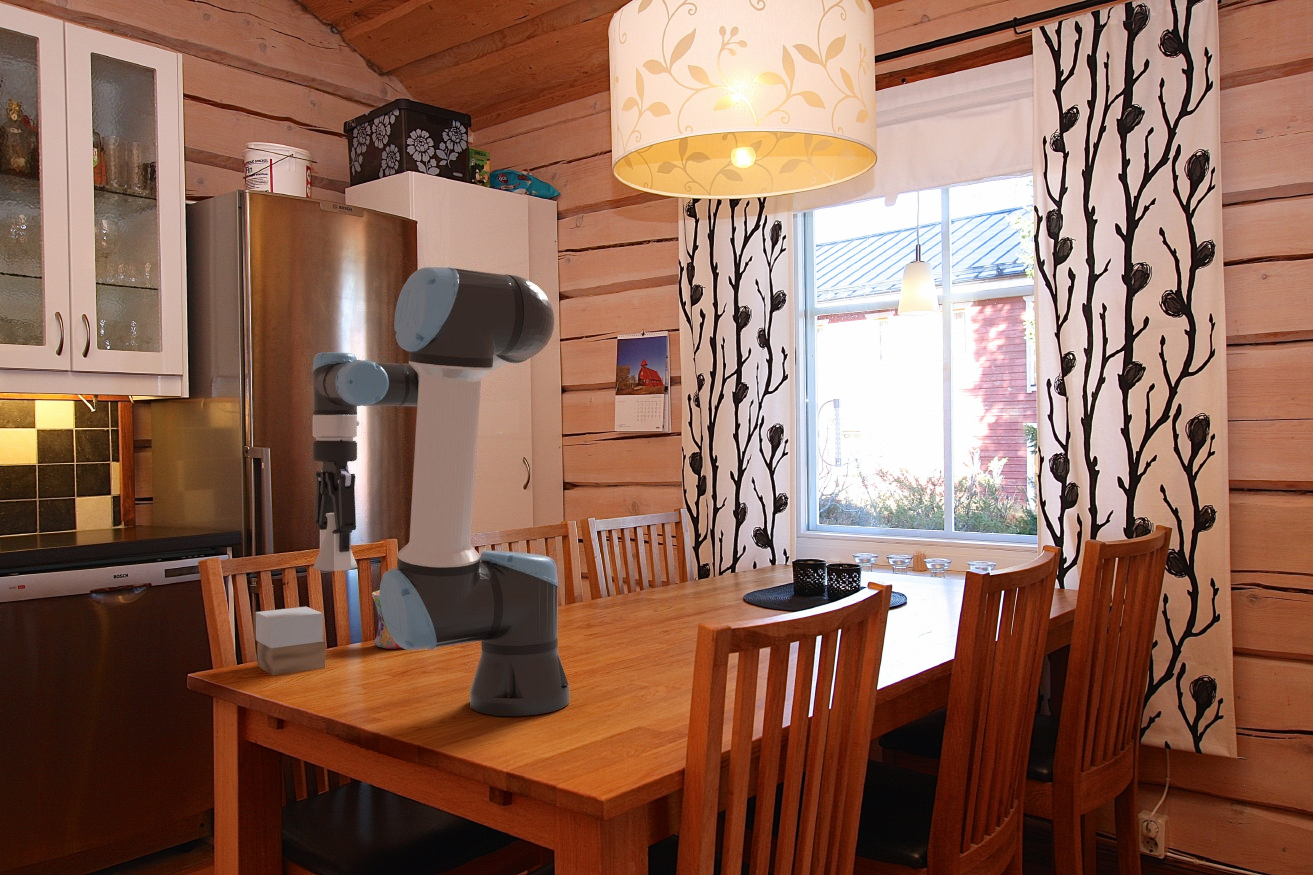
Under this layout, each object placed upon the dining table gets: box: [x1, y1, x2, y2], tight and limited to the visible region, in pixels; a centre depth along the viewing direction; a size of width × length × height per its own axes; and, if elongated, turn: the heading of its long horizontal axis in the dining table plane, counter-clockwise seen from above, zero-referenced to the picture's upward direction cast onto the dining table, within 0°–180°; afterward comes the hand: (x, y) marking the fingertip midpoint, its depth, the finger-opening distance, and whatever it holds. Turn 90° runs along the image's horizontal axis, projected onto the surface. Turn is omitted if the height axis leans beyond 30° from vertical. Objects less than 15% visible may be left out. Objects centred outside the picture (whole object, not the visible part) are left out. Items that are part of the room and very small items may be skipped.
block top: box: [255, 606, 324, 648], centre depth 175 cm, size 9×9×5 cm
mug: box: [371, 589, 403, 650], centre depth 193 cm, size 12×9×11 cm
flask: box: [312, 513, 358, 572], centre depth 176 cm, size 7×7×10 cm
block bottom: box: [256, 639, 326, 677], centre depth 175 cm, size 9×9×5 cm
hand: (335, 567), depth 176 cm, fingers closed on flask, 7 cm apart
